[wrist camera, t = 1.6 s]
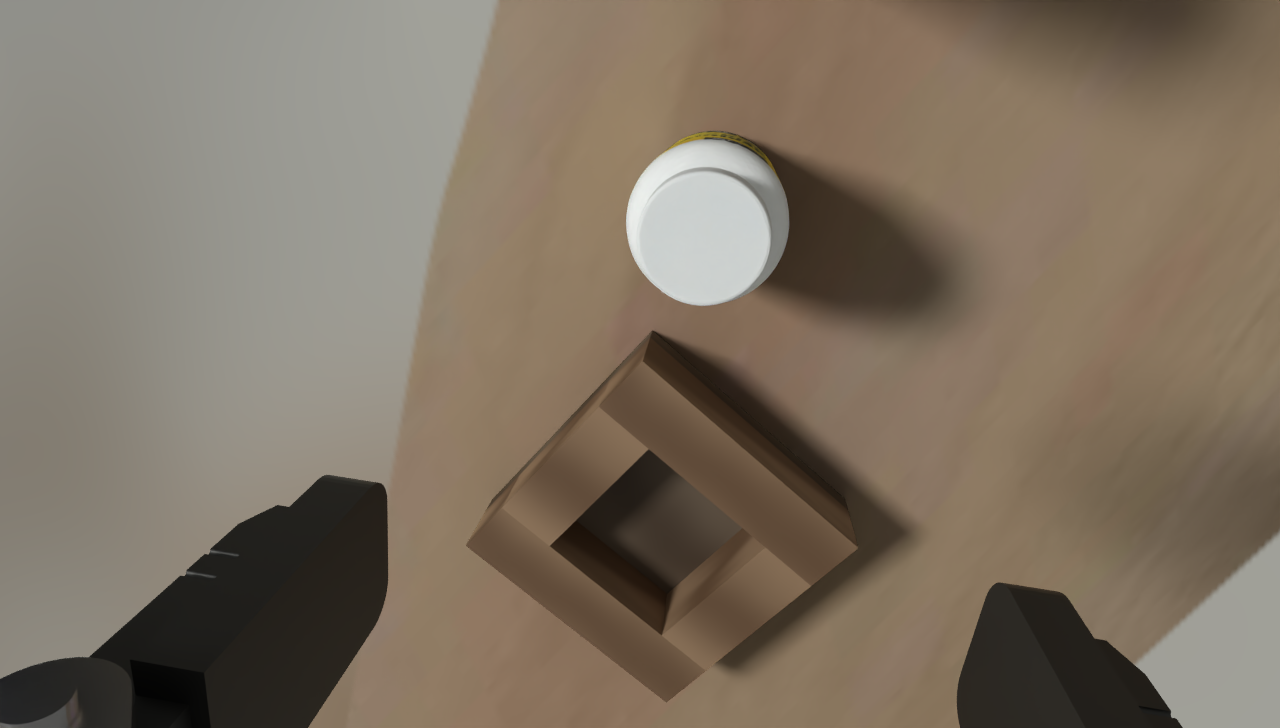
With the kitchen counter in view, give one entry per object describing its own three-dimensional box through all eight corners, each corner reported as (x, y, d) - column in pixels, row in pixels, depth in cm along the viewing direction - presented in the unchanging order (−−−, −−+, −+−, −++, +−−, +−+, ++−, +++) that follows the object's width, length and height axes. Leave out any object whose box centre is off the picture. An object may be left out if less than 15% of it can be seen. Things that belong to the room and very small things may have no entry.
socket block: (652, 330, 33) (642, 361, 30) (844, 499, 35) (858, 548, 31) (492, 499, 37) (465, 545, 34) (672, 643, 39) (666, 702, 35)
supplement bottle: (781, 126, 30) (802, 144, 21) (777, 261, 32) (795, 332, 23) (644, 130, 31) (608, 149, 21) (648, 262, 32) (616, 331, 23)
